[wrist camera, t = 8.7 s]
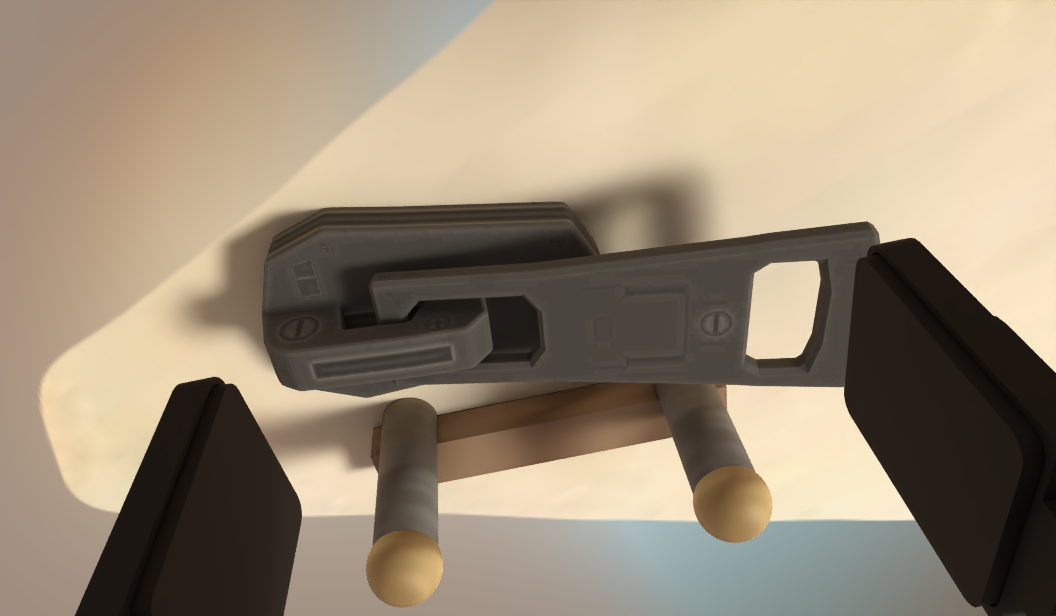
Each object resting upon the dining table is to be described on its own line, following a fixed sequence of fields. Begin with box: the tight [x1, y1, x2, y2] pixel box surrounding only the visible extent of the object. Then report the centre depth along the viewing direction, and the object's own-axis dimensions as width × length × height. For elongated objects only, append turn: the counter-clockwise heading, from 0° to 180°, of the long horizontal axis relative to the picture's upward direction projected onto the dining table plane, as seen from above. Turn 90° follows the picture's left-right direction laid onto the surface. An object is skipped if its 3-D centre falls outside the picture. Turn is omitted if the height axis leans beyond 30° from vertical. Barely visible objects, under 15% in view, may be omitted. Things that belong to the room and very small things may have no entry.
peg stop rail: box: [366, 382, 772, 607], centre depth 35 cm, size 18×5×11 cm, turn 100°
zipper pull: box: [262, 202, 880, 398], centre depth 32 cm, size 9×7×25 cm
